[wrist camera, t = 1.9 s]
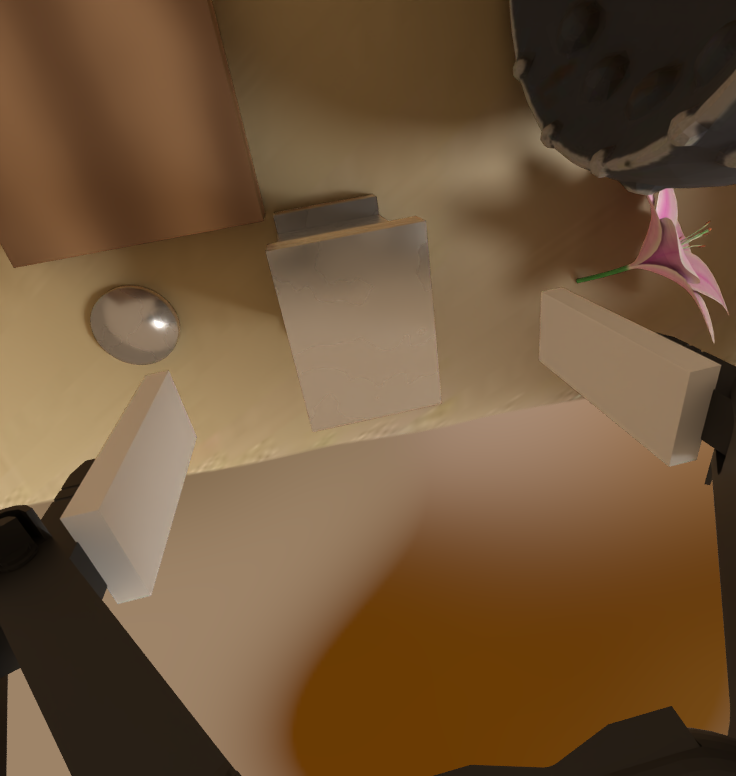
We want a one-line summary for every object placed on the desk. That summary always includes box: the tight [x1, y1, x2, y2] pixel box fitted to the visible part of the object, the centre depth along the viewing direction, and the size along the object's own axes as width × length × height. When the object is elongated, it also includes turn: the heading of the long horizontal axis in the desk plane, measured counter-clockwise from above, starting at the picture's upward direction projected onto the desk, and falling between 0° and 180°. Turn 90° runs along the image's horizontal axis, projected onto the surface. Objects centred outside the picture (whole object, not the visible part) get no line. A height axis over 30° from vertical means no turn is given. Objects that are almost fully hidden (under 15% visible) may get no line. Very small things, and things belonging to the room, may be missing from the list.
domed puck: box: [90, 285, 180, 365], centre depth 28 cm, size 5×5×1 cm
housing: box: [266, 194, 442, 432], centre depth 24 cm, size 6×8×12 cm
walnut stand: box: [0, 0, 265, 268], centre depth 22 cm, size 13×13×3 cm
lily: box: [576, 188, 730, 343], centre depth 28 cm, size 12×12×10 cm
